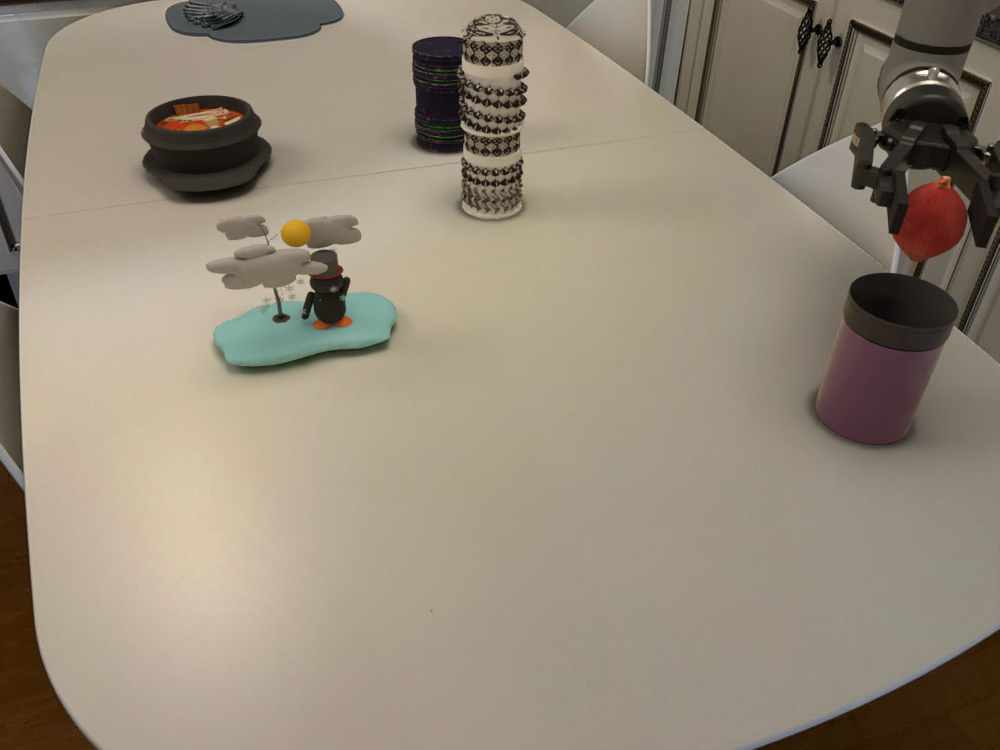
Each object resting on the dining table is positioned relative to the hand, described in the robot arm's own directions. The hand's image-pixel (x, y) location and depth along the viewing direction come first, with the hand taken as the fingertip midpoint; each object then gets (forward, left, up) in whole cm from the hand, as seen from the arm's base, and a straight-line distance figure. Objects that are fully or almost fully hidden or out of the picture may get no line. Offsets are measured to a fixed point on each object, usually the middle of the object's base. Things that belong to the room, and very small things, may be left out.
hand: (942, 225), depth 67 cm
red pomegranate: (0, -5, -6) cm, 8 cm away
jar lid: (0, -5, -10) cm, 11 cm away
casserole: (+93, -34, -24) cm, 102 cm away
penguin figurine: (+58, +1, -24) cm, 62 cm away
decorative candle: (+49, -36, -24) cm, 65 cm away
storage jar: (+63, -55, -24) cm, 87 cm away
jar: (0, -5, -23) cm, 24 cm away
